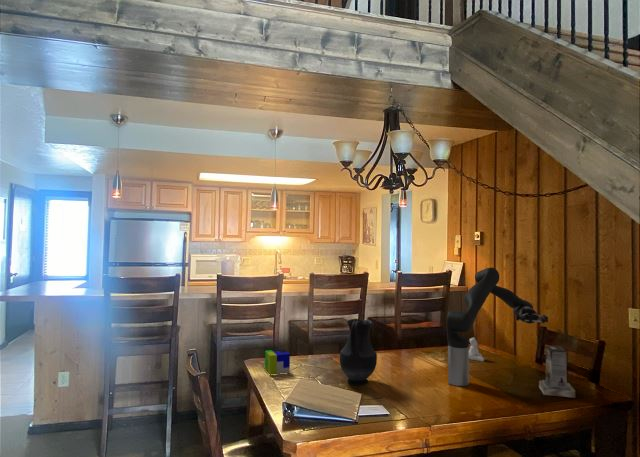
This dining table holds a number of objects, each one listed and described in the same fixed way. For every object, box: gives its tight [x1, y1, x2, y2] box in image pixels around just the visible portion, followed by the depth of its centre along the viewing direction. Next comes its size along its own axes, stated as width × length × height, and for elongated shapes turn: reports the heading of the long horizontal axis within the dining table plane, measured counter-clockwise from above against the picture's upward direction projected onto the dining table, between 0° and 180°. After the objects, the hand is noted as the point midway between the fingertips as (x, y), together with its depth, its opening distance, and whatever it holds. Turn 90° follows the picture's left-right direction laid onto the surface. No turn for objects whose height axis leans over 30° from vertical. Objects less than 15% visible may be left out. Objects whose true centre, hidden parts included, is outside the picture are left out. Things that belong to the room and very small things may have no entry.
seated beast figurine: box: [468, 337, 485, 363], centre depth 241 cm, size 10×9×12 cm
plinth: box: [538, 379, 576, 399], centre depth 189 cm, size 12×11×3 cm
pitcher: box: [339, 318, 378, 386], centre depth 200 cm, size 17×21×30 cm
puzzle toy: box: [264, 348, 291, 375], centre depth 216 cm, size 10×10×10 cm
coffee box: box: [545, 344, 568, 388], centre depth 189 cm, size 9×6×16 cm
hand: (533, 320), depth 208 cm, fingers open, 8 cm apart
